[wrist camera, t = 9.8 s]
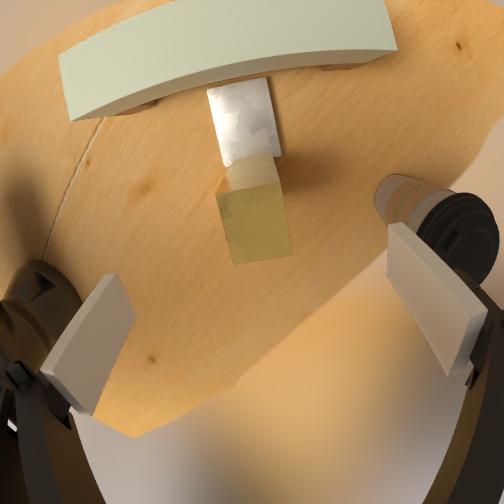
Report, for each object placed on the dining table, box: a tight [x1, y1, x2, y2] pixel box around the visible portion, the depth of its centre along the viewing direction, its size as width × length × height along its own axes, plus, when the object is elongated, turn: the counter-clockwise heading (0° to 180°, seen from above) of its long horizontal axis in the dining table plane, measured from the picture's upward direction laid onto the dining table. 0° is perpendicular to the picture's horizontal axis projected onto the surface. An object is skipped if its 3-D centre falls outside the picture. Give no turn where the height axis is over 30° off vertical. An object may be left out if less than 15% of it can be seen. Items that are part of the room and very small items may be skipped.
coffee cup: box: [374, 174, 499, 285], centre depth 25 cm, size 9×9×15 cm
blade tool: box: [207, 77, 293, 265], centre depth 23 cm, size 6×13×14 cm, turn 12°
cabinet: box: [58, 0, 398, 122], centre depth 19 cm, size 24×7×12 cm, turn 102°
